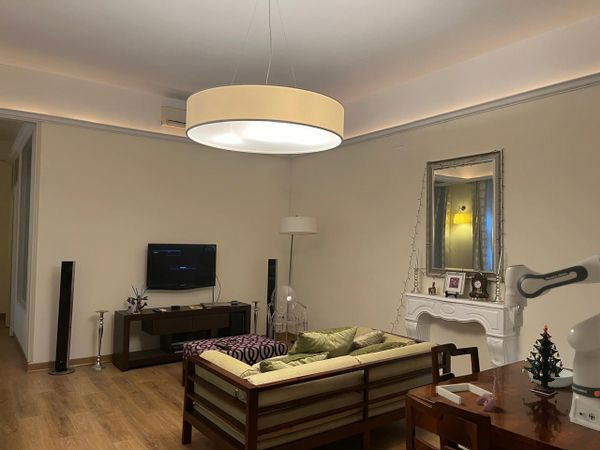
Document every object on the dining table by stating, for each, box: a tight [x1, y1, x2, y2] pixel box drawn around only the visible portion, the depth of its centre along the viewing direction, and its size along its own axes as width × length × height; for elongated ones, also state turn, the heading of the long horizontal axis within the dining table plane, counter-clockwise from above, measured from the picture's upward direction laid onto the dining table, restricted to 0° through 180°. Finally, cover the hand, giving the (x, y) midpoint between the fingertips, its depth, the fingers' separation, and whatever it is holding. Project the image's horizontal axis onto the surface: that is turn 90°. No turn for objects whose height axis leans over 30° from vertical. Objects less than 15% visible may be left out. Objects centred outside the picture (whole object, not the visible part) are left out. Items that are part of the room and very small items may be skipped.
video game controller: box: [475, 393, 497, 412], centre depth 204 cm, size 10×5×7 cm, turn 179°
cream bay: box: [435, 382, 494, 405], centre depth 219 cm, size 17×18×3 cm
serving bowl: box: [527, 368, 573, 389], centre depth 238 cm, size 21×21×7 cm
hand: (516, 333), depth 207 cm, fingers open, 8 cm apart
